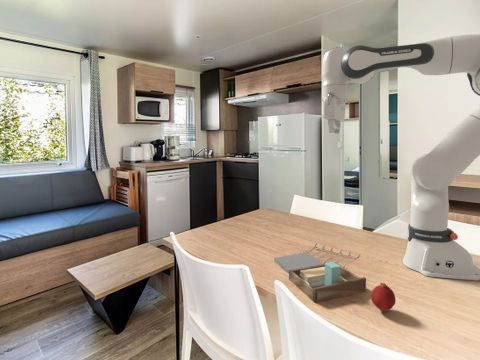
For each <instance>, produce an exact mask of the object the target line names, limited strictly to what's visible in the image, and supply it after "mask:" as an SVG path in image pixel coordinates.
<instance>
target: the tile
mask: <svg viewBox="0 0 480 360" xmlns="http://www.w3.org/2000/svg"><path fill="white" fill-rule="evenodd" d="M273 261H274V262H275V263H276V264H277V265H278V266H279V267H280V268H282V269H283V270H284V271H285V272H286V273H287V274H288V275H289V270H294V269H300V268H305V267H311V266H316V265H321V264H324V262H322V261H320V259H318V258H316V257H314V256H313V255H311V254H310V253H309V252H306V251H305V252H301V253H297V254H296V253H295V254H290V255H283V256H278V257H274V258H273Z"/></svg>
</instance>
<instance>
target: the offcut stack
mask: <svg viewBox="0 0 480 360" xmlns="http://www.w3.org/2000/svg"><path fill="white" fill-rule="evenodd" d="M299 277H300V278H301V279H302V280H303V281H305V282H306V283H307V284H308V285H309V286H311V287H312V288H316V287H321V286H324V280H325V267H320V268H314V269H307V270H301V271H300V276H299ZM343 279H344V278H343V277H341V276H340V282H344V281H343Z"/></svg>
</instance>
